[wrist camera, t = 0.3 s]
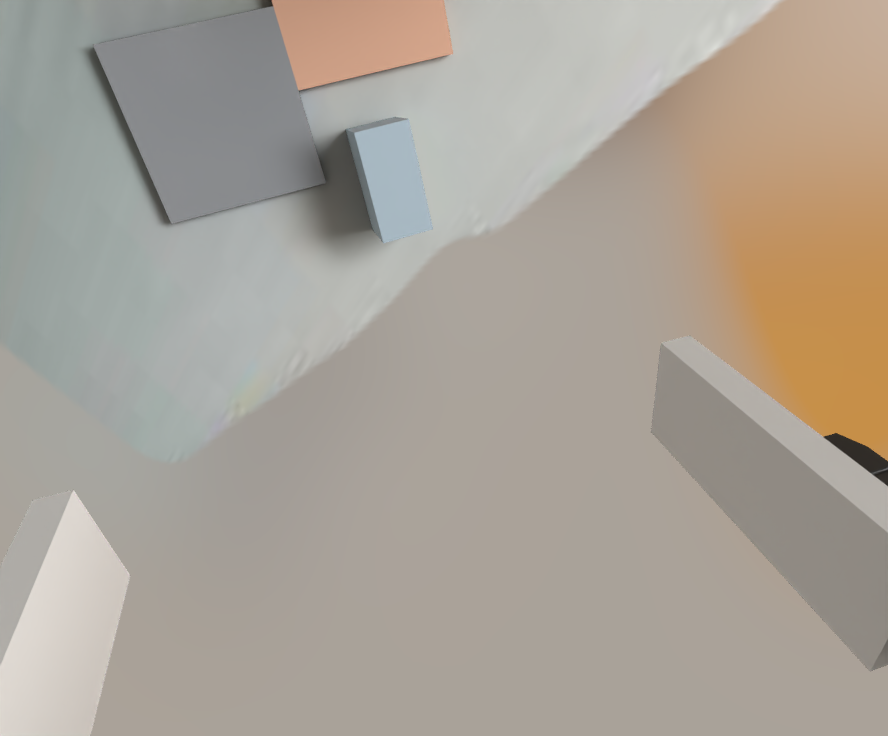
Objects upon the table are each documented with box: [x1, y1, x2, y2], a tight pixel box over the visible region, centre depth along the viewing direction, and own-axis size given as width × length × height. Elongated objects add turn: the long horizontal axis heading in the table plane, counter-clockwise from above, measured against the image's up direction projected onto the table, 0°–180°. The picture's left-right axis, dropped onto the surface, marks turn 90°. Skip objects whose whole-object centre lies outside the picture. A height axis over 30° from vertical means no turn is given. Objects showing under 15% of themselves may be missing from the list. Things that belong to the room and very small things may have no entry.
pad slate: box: [93, 6, 326, 224], centre depth 31 cm, size 9×9×1 cm
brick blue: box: [346, 117, 433, 243], centre depth 33 cm, size 6×3×4 cm, turn 13°
